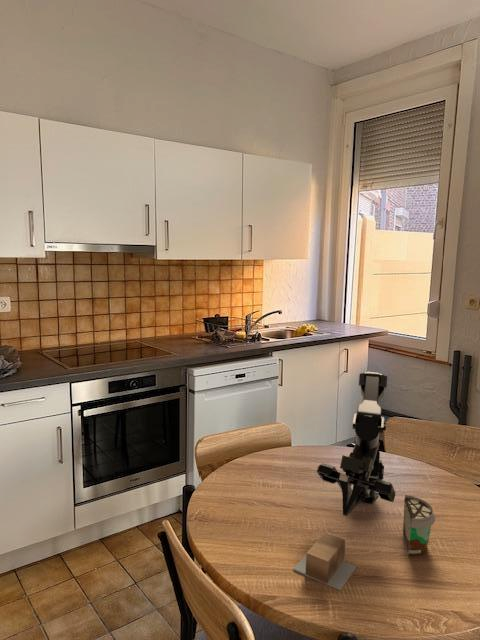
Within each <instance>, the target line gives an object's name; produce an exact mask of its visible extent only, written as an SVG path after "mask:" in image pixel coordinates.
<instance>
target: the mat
mask: <svg viewBox="0 0 480 640" xmlns="http://www.w3.org/2000/svg"><path fill="white" fill-rule="evenodd" d="M356 569H357V566H356V565H354V564H351V563H348V562H346V561H345V560H344V561H343V562H342V564H341V565H340V566H339V568H338V569H337V571H336V572H335V573H334V575H333V576H332V577H331V579H330V580H329V581H328V583H324V582H322V581H320V580H318V579H315V578H313V577H311V576H308V575H306V554H305V555H304V556H303V557H302V559H300V560H299V562H298V563H297V564H296V565H295V566H294V567H293V571H294V572H297V573H299V574H301V575H303V576H306V577H308V578H310V579H311V580H315V581H317V582H319V583H322V584H324V585H327V586H329V587H331V588H334V589H336V590H338V591H342V590H343V587H344V586H345V585H346V584H347V582H348V580H349V579H350V578H351V576H352V575H353V573H354V571H355V570H356Z"/></svg>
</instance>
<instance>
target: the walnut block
mask: <svg viewBox="0 0 480 640" xmlns="http://www.w3.org/2000/svg"><path fill="white" fill-rule="evenodd" d="M346 541H347V539H346V538H344V537H341V536H339V535H336V534H334V533H331V532H328V531H324V532H323V533H322V535H321V536H320V537H319V539H317V541H316V542H315V543H314V544H313V545H312V546H311V547H310V548H309V549H308V551H306V554H305V555H306V575H308V576H311V577H313V578H315V579H318V580H320V581H322V582H324V583H328V581H329V580H330V579H331V577H332V576H333V575H334V573H335V572H336V571H337V569H338V568H339V566H340V565H341V564H342V562H343V561H344V562H345V560H346V559H345V558H346V547H347V546H346V544H347V543H346ZM306 575H305V576H306ZM308 576H307V577H308ZM315 579H314V580H315ZM322 582H321V583H322ZM324 583H323V584H324Z"/></svg>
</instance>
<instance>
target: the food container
mask: <svg viewBox="0 0 480 640" xmlns="http://www.w3.org/2000/svg"><path fill="white" fill-rule="evenodd" d="M403 501H404V504H403V505H404V508H403V523H402V524H403V525H402V536H403V540H404V545H405V549H406V554H407V556H408V557H412V558H413V557H421V556H423V555H425V554H426V553H427V552H428V546H429V540H430V534H431V530H432V529H431V528H432V526H433V525H434V524H435V522H436V517H435V511H434V508H433V507H432V505H431V504H430V503H428V502H427V501H426V500H424V499H421V498H419V497H416V496H413V495H408V494H404V500H403Z"/></svg>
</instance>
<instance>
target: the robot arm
mask: <svg viewBox="0 0 480 640" xmlns="http://www.w3.org/2000/svg"><path fill="white" fill-rule="evenodd" d="M387 386H388V376H387V375H384V374H383V373H380V372H376V371H375V372H374V371H364V372H363V373H359V376H358V387H360V395H361V396H362V398H363V400H362V402H361V403H359V404H358V405H357V411H356V412H354V414H353V420H352V429H353V430H354V436H355V439H354V441H355V444H354V447H353V449H352V451H351V452H350V453H349V455H348V456H347V455H342V456H341V461H340V465H339V469H341V470H342V472H344V473H342V472H339V471H338V470H337V468H336V467H335V465H331V464H327V463H324V462H322V463H321V464H319V465H318V467H317V469H316V473H317V475H318V476H319V477H320V479H321V480H322V481H324V482H327V483H329V484H336V483H337V485H338V486H339V488H340V489H341V494H342V496H341V497H342V515H343V516H345V517H348V515H349V514H351V512H352V511H353V510H354V509H355V508H356V506H358V505H359V504H360V503H361V502H365V503H367V504H373V503H374V502H375V501H376V499H377V498H378V496H379V498H380V499H381V500H384V501H388V502H391V503H393V502H394V501H395V499H396V490H395V488H394V486H393V484H392V482H390V481H386V480H384V475H385V473H384V472H385V465H383V464H384V463H383V461H382V460H381V459H380V458H381V457H380V456H381V452H380V450H379V447H380V444H381V443H380V441H379V438H380V433H382V434H384V431H386V430H387V429H386V428H387V421H386V419H385V416H383V415H382V410H383V409H382V407H381V406H380V405H379V402H380V401H381V399H382V398H383V397H384V396H385V395H384V394H385V390H387ZM352 486H353V487H352Z"/></svg>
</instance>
